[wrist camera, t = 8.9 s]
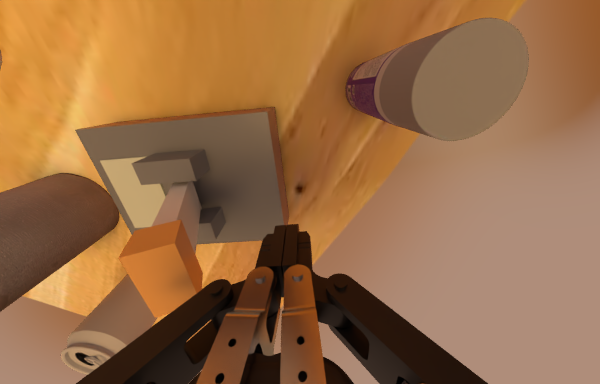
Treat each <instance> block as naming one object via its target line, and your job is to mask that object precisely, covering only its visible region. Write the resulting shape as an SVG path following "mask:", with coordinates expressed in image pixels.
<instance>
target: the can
mask: <svg viewBox="0 0 600 384" xmlns="http://www.w3.org/2000/svg"><path fill="white" fill-rule="evenodd" d="M156 319H157V317H156V318H155V317H154V316H153V314H152V312H151V311H150V309H149V307H148V306H147V304H146V303H145V301H144V299H143V298H142V296H141V294H140V293H139V291H138V290H137V288H136V286H135V285H134V283H133V281H132V280H131V278H130V277H129V275H128V274H127V275H126V276H125V277H124V278H123V280H122V281H121V282H120V283H119V284H118V285H117V286H116V287H115V288H114V289H113V290H112V291H111V292H110V293H109V294H108V295H107V296H106V297H105V298H104V299H103V301H102V302H101V303H100V304H99V305H98V306H97V307H96V308H95V309H94V310H93V311H92V312H91V313H90V314H89V315H88V316H87V317H86V318H85V319H84V321H83V322H82V323H81V324H80V325H79V326H78V327H77V328H76V329H75V330H74V331H73V332H72V333H71V334H70V335H69V338H68V340H67V348H66V349H64V350H63V351H62V353H61V359H62V361H63V362H64V363H65V364H66V365H67V366H68V367H70V368H72V369H74V370H75V371H78V372H80V373H83V374H86V375H88V374H90V373H91V372H92V371H94V370H95V369H96V368H98V367H99V366H100V365H102V364H103V363H104V362H106V361H107V360H108V359H110V358H111V357H112V356H114V355H115V354H116V353H118V352H119V351H120V350H122V349H123V348H124V347H126V346H127V345H128V344H130V343H131V342H132V341H134V340H135V339H136V338H138V337H139V336H140V335H142V334H143V333H144V332H146V331H147V330H148V329H150V328H151V327H152V325H153V324H154V322H155V320H156Z"/></svg>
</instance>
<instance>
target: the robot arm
mask: <svg viewBox="0 0 600 384" xmlns="http://www.w3.org/2000/svg"><path fill="white" fill-rule="evenodd" d="M281 297H284V311H282V324H281V325H282V327H281V353H278V354H275V355H274V344H275V338H276V333H277V327H278V322H279V316H280V310H281V309H280V303H281ZM210 320H211V321H210ZM208 321H210V322H209V323H208V324H207V325H206V326H205V327H203V326H204V325H205V324H206V323H207V322H208ZM318 322H321V323H325V324H328V325H329V327H330V329H331V330H332V331H333V333H334V334H335V335H336V336H337V337H338V338H339V339H340V340H341V341H342V343H343V344H344V345H345V346H346V347H347V348H348V349H349V350H350V351H351V352H352V354H353V355H354V356H355V357H356V358H357V359H358V360H359V361H360V362H361V363H362V365H363V366H364V367H365V368H366V369H367V370H368V371H369V372H370V373H371V375H372V376H373V377H374V378H375V379H376V380H377V381H378V382H379V383H380V384H488V383H487V382H485V381H484V380H483V379H481V378H480V377H479V376H477V375H476V374H475V373H473V372H472V371H471V370H470V369H468V368H467V367H466V366H464V365H463V364H462V363H461V362H459V361H458V360H456V359H455V358H454V357H453V356H452V355H450V354H449V353H448V352H446V351H445V350H444V349H443V348H441V347H440V346H438V345H437V344H436V343H435V342H433V341H432V340H431V339H430V338H428V337H427V336H426V335H424V334H423V333H422V332H420V331H419V330H418V329H417V328H415V327H414V326H413V325H411V324H410V323H409V322H408V321H406V320H405V319H404V318H402V317H401V316H400V315H399V314H397V313H396V312H394V311H393V310H392V309H391V308H389V307H388V306H387V305H386V304H384V303H383V302H382V301H380V300H379V299H378V298H377V297H375V296H374V295H373V294H371V293H370V292H369V291H367V290H366V289H365V288H364V287H362V286H361V285H360V284H358V283H357V282H356V281H354V280H353V279H352V278H350V277H349V276H347V275H345V274H334V275H332V276H330V277H329V278H328V279H327V278H323V277H320V276H318V275H316V274H315V273H314V272H313V270H312V253H311V242H310V236H309V234H308V233H307V231H304V232H299V225H298V224H292V225H277V226H275V229H274V233H273V234H267V235H266V236H265V237H264V239H263V241H262V245H261V248H260V252H259V256H258V259H257V263H256V267H255V269H254V270H252V271H251V272H250V273H249V274H248V276H247V279H246V280H244V281H241V282H238V283H235V284H232V285H231V284H230V282H229V281H227V280H225V279H220V280H216V281H213V282H211V283H210V284H209V285H207V286H206V287H205V288H203V289H202V290H201V291H199V292H198V293H197V294H195V295H194V296H193V297H191V298H190V299H189V300H187V301H186V302H184V303H183V304H182V305H180V306H179V307H178V308H176V309H175V310H174V311H172V312H171V313H170V314H168V315H167V316H166V317H164V318H163V319H162V320H160V321H159V322H158V323H156V324H155V325H154V326H152V327H151V328H150V329H148V330H147V331H146V332H144V333H143V334H142V335H140V336H139V337H138V338H136V339H135V340H134V341H132V342H131V343H130V344H128V345H127V346H126V347H124V348H123V349H122V350H120V351H119V352H118V353H116V354H115V355H114V356H112V357H111V358H110V359H108V360H107V361H106V362H104V363H103V364H102V365H100V366H99V367H98V368H96V369H95V370H94V371H92V372H91V373H90V374H88V375H87V376H86V377H84V378H83V379H82V380H80V381H79V382H78V383H76V384H188V383H189V382H190V381H191V380H192V379H193V378H194V379H193V380H192V381H191V382H190V383H189V384H354V383H353V382H352V381H351V379H350V378H349V377H348V375H347V374H346V373H345V372H344V371H343V370H342V369H341V368H340V367H339V366H338V365H336V364H335V363H334V362H332V361H331V360H329V359H327V358H325V357H323V356H322V348H321V340H320V333H319V326H318ZM202 327H203V328H202ZM200 328H202V329H201V330H200V331H199V332H198V333H197V334H195V333H196V332H197V331H198V330H199V329H200ZM194 334H195V335H194ZM192 335H194V336H193V337H192V338H191V339H190V340H189V341H187V340H188V339H189V338H190V337H191V336H192ZM201 370H202V371H201ZM200 371H201V372H200ZM199 372H200V373H199ZM198 373H199V374H198ZM197 374H198V375H197ZM196 375H197V376H196Z"/></svg>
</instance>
